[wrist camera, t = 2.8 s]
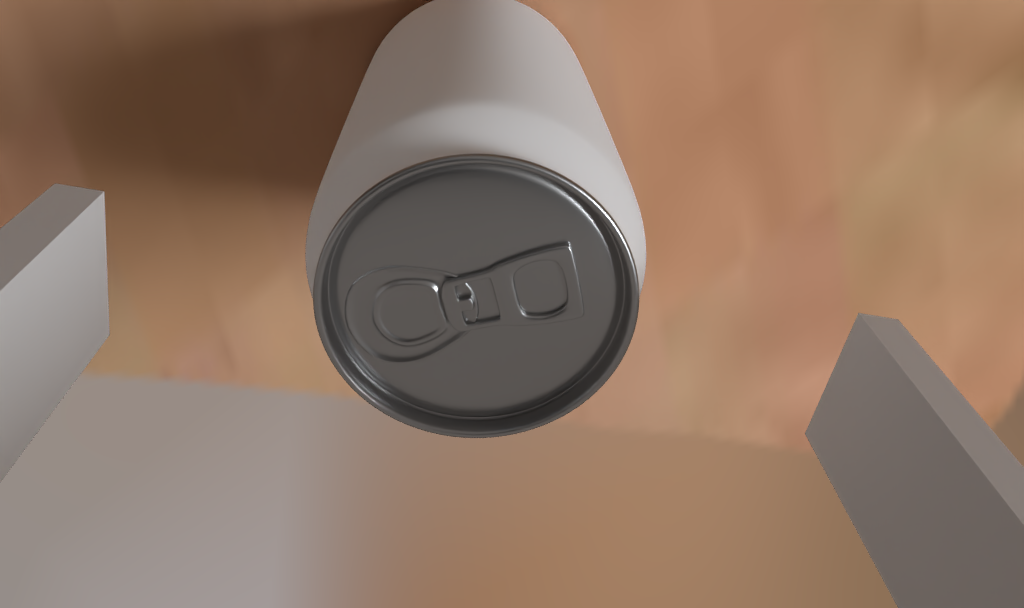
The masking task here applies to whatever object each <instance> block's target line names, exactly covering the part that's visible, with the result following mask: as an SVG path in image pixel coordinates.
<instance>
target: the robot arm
mask: <svg viewBox="0 0 1024 608" xmlns="http://www.w3.org/2000/svg"><path fill="white" fill-rule="evenodd" d="M109 335H110V333H109V306H108V279H107V252H106V225H105V198H104V191H99V190H93V189H87V188H80V187H74V186H68V185H62V184H56V183H55V184H54V185H52V186H51V187H50V188H49V189H48V190H46V191H45V192H44V193H43V194H42V195H40V196H39V197H38V198H37V199H36V200H34V201H33V202H32V203H31V204H29V205H28V206H27V207H26V208H25V209H23V210H22V211H21V212H20V213H19V214H17V215H16V216H15V217H14V218H13V219H11V220H10V221H9V222H8V223H7V224H5V225H4V226H3V227H2V228H1V229H0V482H1V481H2V480H3V478H4V477H5V476H6V474H7V473H8V472H9V470H10V469H11V468H12V466H13V465H14V464H15V462H16V461H17V459H18V458H19V457H20V455H21V454H22V453H23V451H24V450H25V448H26V447H27V446H28V444H29V443H30V442H31V441H32V439H33V438H34V436H35V435H36V434H37V432H38V431H39V430H40V428H41V427H42V426H43V424H44V423H45V422H46V420H47V419H48V417H49V416H50V415H51V413H52V412H53V411H54V409H55V408H56V407H57V405H58V404H59V403H60V401H61V400H62V398H63V397H64V396H65V394H66V393H67V392H68V390H69V389H70V388H71V386H72V385H73V384H74V382H75V381H76V380H77V378H78V377H79V375H80V374H81V373H82V371H83V370H84V369H85V367H86V366H87V365H88V363H89V362H90V361H91V359H92V358H93V356H94V355H95V354H96V352H97V351H98V350H99V348H100V347H101V346H102V344H103V343H104V342H105V340H106V339H107V338H108V336H109ZM805 435H806V437H807V438H808V440H809V442H810V444H811V446H812V448H813V450H814V452H815V453H816V455H817V457H818V459H819V461H820V463H821V465H822V466H823V468H824V470H825V472H826V474H827V476H828V478H829V480H830V481H831V483H832V485H833V487H834V489H835V491H836V493H837V494H838V496H839V498H840V500H841V502H842V504H843V506H844V508H845V510H846V511H847V513H848V515H849V517H850V519H851V521H852V523H853V525H854V526H855V528H856V530H857V532H858V534H859V536H860V538H861V539H862V541H863V543H864V545H865V547H866V549H867V550H868V553H869V555H870V556H871V558H872V560H873V562H874V564H875V566H876V568H877V569H878V571H879V573H880V575H881V577H882V579H883V581H884V582H885V584H886V586H887V588H888V590H889V592H890V594H891V596H892V597H893V599H894V601H895V603H896V605H897V607H898V608H1024V467H1023V466H1022V465H1021V464H1020V463H1019V462H1018V460H1017V459H1016V458H1015V457H1014V456H1013V454H1012V453H1011V452H1010V451H1009V450H1008V448H1007V447H1006V446H1005V445H1004V444H1003V443H1002V442H1001V440H1000V439H999V438H998V437H997V435H996V434H995V433H994V432H993V431H992V430H991V428H990V427H989V426H988V425H987V424H986V423H985V421H984V420H983V419H982V418H981V417H980V415H979V414H978V413H977V412H976V411H975V410H974V408H973V407H972V406H971V405H970V404H969V402H968V401H967V400H966V399H965V398H964V397H963V395H962V394H961V393H960V392H959V391H958V390H957V388H956V387H955V386H954V385H953V384H952V382H951V381H950V380H949V379H948V378H947V377H946V375H945V374H944V373H943V372H942V371H941V369H940V368H939V367H938V366H937V365H936V364H935V362H934V361H933V360H932V359H931V358H930V357H929V355H928V354H927V353H926V352H925V351H924V349H923V348H922V347H921V346H920V345H919V344H918V342H917V341H916V340H915V339H914V338H913V336H912V335H911V334H910V333H909V332H908V331H907V329H906V328H905V327H904V326H903V325H902V324H901V322H900V321H899V320H898V319H892V318H886V317H880V316H874V315H868V314H861V313H858V316H857V318H856V320H855V322H854V325H853V327H852V329H851V331H850V334H849V336H848V338H847V340H846V343H845V345H844V347H843V349H842V352H841V354H840V356H839V358H838V361H837V363H836V365H835V367H834V370H833V372H832V374H831V376H830V379H829V381H828V383H827V385H826V388H825V390H824V392H823V394H822V397H821V399H820V401H819V403H818V406H817V408H816V410H815V412H814V415H813V417H812V419H811V421H810V424H809V426H808V428H807V430H806V433H805Z"/></svg>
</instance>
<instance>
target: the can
mask: <svg viewBox="0 0 1024 608" xmlns="http://www.w3.org/2000/svg"><path fill="white" fill-rule="evenodd" d="M305 254H306V271H307V278H308V283H309V287H310V291H311V294H312V298H313V305H314V314H315V320H316V325H317V329H318V332H319V336H320V338H321V341H322V344H323V346H324V348H325V350H326V352H327V355H328V356H329V358H330V360H331V362H332V363H333V365H334V366H335V368H336V369H337V371H338V372H339V374H340V375H341V376H342V377H343V379H344V380H345V381H346V382H347V383H348V384H349V386H350V387H351V388H352V389H353V390H354V391H355V392H356V393H357V394H359V395H360V396H361V397H362V398H363V399H364V400H366V401H367V402H368V403H369V404H371V405H372V406H374V407H375V408H377V409H378V410H380V411H382V412H383V413H384V414H386V415H388V416H390V417H392V418H394V419H396V420H398V421H400V422H402V423H404V424H407V425H410V426H412V427H415V428H417V429H421V430H424V431H427V432H432V433H436V434H440V435H446V436H453V437H463V438H487V437H499V436H506V435H511V434H516V433H520V432H524V431H528V430H531V429H534V428H537V427H540V426H543V425H545V424H548V423H550V422H552V421H554V420H556V419H558V418H560V417H562V416H564V415H566V414H568V413H569V412H571V411H572V410H574V409H575V408H577V407H578V406H580V405H581V404H583V403H584V402H585V401H586V400H588V399H589V398H590V397H591V396H592V395H594V394H595V393H596V392H597V391H598V390H599V389H600V388H601V387H602V386H603V385H604V384H605V382H606V381H607V380H608V379H609V378H610V376H611V375H612V374H613V372H614V371H615V370H616V368H617V367H618V365H619V364H620V362H621V360H622V359H623V357H624V355H625V353H626V351H627V349H628V347H629V344H630V342H631V339H632V337H633V333H634V330H635V326H636V322H637V317H638V310H639V296H640V293H641V290H642V286H643V281H644V275H645V267H646V242H645V234H644V227H643V222H642V217H641V213H640V210H639V206H638V203H637V200H636V197H635V194H634V191H633V189H632V186H631V183H630V181H629V178H628V176H627V173H626V171H625V168H624V166H623V163H622V161H621V159H620V156H619V154H618V151H617V149H616V147H615V144H614V142H613V139H612V137H611V135H610V132H609V130H608V127H607V125H606V123H605V120H604V118H603V116H602V113H601V111H600V109H599V106H598V104H597V102H596V99H595V97H594V94H593V92H592V90H591V88H590V85H589V83H588V81H587V78H586V76H585V74H584V72H583V69H582V67H581V65H580V63H579V61H578V59H577V57H576V55H575V53H574V51H573V50H572V48H571V46H570V45H569V43H568V42H567V40H566V39H565V38H564V36H563V35H562V34H561V33H560V32H559V30H558V29H557V28H556V27H555V26H554V25H553V24H552V23H551V22H550V21H548V20H547V19H546V18H545V17H543V16H542V15H541V14H539V13H538V12H537V11H535V10H533V9H532V8H530V7H528V6H526V5H524V4H522V3H520V2H518V1H515V0H434V1H431V2H429V3H427V4H425V5H423V6H421V7H419V8H417V9H416V10H414V11H412V12H411V13H410V14H408V15H407V16H406V17H404V18H403V19H402V20H401V21H400V22H399V23H397V24H396V25H395V26H394V28H393V29H392V30H391V31H390V32H389V33H388V34H387V36H386V37H385V38H384V40H383V41H382V43H381V44H380V46H379V47H378V49H377V51H376V53H375V55H374V57H373V58H372V61H371V63H370V65H369V67H368V69H367V72H366V74H365V76H364V78H363V81H362V83H361V85H360V88H359V90H358V93H357V95H356V97H355V100H354V102H353V105H352V107H351V109H350V112H349V114H348V117H347V119H346V122H345V124H344V126H343V129H342V131H341V134H340V136H339V139H338V141H337V144H336V146H335V149H334V151H333V154H332V156H331V158H330V161H329V163H328V166H327V169H326V171H325V174H324V176H323V179H322V181H321V184H320V187H319V189H318V192H317V195H316V198H315V201H314V204H313V208H312V211H311V215H310V219H309V224H308V230H307V238H306V252H305Z"/></svg>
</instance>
